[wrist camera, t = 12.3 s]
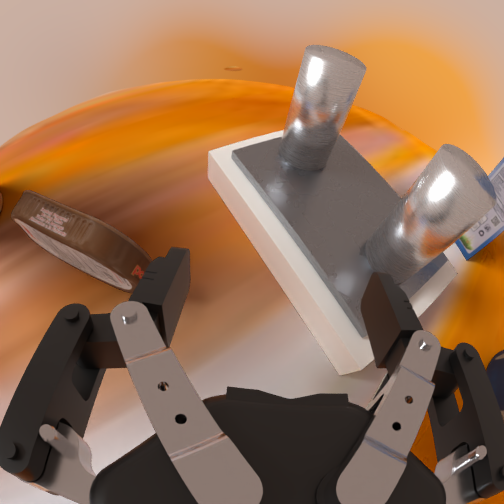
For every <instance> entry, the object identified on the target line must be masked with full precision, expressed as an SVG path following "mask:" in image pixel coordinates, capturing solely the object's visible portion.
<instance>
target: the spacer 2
mask: <svg viewBox="0 0 504 504" xmlns="http://www.w3.org/2000/svg"><path fill="white" fill-rule="evenodd" d="M495 205H496V193H495V190H494V187H493V185H492V183H491V181H490V179H489V178H488V176H487V174H486V173H485V172H484V170H483V169H482V168H481V167H480V165H479V164H478V163H477V162H476V161H475V160H474V159H473V158H472V157H471V156H470V155H468V154H467V153H466V152H464V151H463V150H461V149H460V148H458V147H456V146H453V145H450V144H444V145H442V146H441V148H440V149H439V150H438V152H437V153H436V154H435V156H434V157H433V159H432V160H431V161H430V163H429V164H428V165H427V167H426V168H425V169H424V171H423V172H422V173H421V175H420V176H419V177H418V178H417V180H416V181H415V182H414V184H413V185H412V186H411V187H410V189H409V190H408V191H407V193H406V194H405V195H404V196H403V198H402V199H401V200H400V201H399V203H398V204H397V205H396V206H395V207H394V209H393V210H392V211H391V212H390V214H389V215H388V216H387V217H386V218H385V220H384V221H383V222H382V223H381V224H380V226H379V227H378V228H377V229H376V230H375V231H374V233H373V234H372V235H371V236H370V237H369V239H368V240H367V243H366V257H367V260H368V263H369V265H370V266H371V268H372V270H373V271H374V272H381V273H389V274H391V276H392V278H393V280H394V282H395V284H398V283H402V282H404V281H406V280H407V279H409V278H410V277H411V276H413V275H414V274H415V273H417V272H418V271H419V270H420V269H422V268H423V267H424V266H426V265H427V264H428V263H429V262H431V261H432V260H433V259H435V258H436V257H437V256H438V255H440V254H441V253H442V252H443V251H444V250H446V249H447V248H448V247H449V246H451V245H452V244H453V243H454V242H455V241H456V240H458V239H459V238H460V237H461V236H462V235H463V234H465V233H466V232H467V231H468V230H469V229H470V228H471V227H473V226H474V225H475V224H476V223H477V222H478V221H479V220H480V219H481V218H482V217H484V216H485V215H486V214H487V213H488V212H489V211H490V210H491V209H492V208H493V207H494V206H495Z"/></svg>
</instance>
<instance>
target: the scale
mask: <svg viewBox="0 0 504 504" xmlns="http://www.w3.org/2000/svg"><path fill="white" fill-rule="evenodd" d="M283 132H284V130H282V131H278V132H274V133H270V134H266V135H262V136H259V137H255V138H251V139H248V140H244V141H241V142H237V143H234V144H230V145H227V146H224V147H221V148H217V149H214V150H211V151H208V179H209V181H210V182H211V184H212V185H213V186H214V188H215V189H216V191H217V192H218V194H219V195H220V197H221V198H222V200H223V201H224V203H225V204H226V206H227V207H228V209H229V210H230V212H231V213H232V215H233V216H234V218H235V219H236V221H237V222H238V224H239V225H240V227H241V228H242V230H243V231H244V233H245V234H246V236H247V237H248V239H249V240H250V242H251V243H252V245H253V246H254V248H255V249H256V251H257V252H258V254H259V255H260V256H261V258H262V259H263V261H264V262H265V264H266V265H267V267H268V268H269V270H270V271H271V273H272V274H273V276H274V277H275V279H276V280H277V282H278V283H279V285H280V286H281V288H282V289H283V291H284V292H285V294H286V295H287V297H288V298H289V300H290V301H291V303H292V304H293V306H294V307H295V309H296V310H297V312H298V313H299V315H300V316H301V318H302V319H303V321H304V322H305V324H306V325H307V327H308V329H309V330H310V332H311V333H312V335H313V336H314V338H315V339H316V341H317V342H318V344H319V345H320V347H321V348H322V350H323V351H324V353H325V354H326V356H327V357H328V359H329V360H330V362H331V363H332V365H333V366H334V368H335V369H336V371H337V372H338V374H339V375H344V374H348V373H352V372H356V371H360V370H362V369H363V368H364V367H366V366H367V365H368V364H369V363H370V362H371V361H373V360H374V356H373V352H372V348H371V344H370V341H369V337H368V335H367V336H365V337H363V338H362V337H361V336H360V334H359V333H358V331H357V330H356V328H355V327H354V326H353V324H352V323H351V321H350V320H349V318H348V317H347V315H346V314H345V312H344V311H343V309H342V308H341V306H340V305H339V303H338V302H337V301H336V299H335V298H334V296H333V295H332V293H331V292H330V290H329V289H328V288H327V286H326V285H325V283H324V282H323V280H322V279H321V278H320V276H319V275H318V273H317V272H316V271H315V269H314V268H313V266H312V265H311V264H310V262H309V261H308V259H307V258H306V257H305V255H304V254H303V252H302V251H301V250H300V248H299V247H298V246H297V244H296V243H295V241H294V240H293V239H292V237H291V236H290V235H289V233H288V232H287V231H286V229H285V228H284V226H283V225H282V224H281V222H280V221H279V220H278V218H277V217H276V216H275V214H274V213H273V212H272V210H271V209H270V208H269V206H268V205H267V204H266V202H265V201H264V200H263V198H262V197H261V196H260V194H259V193H258V192H257V191H256V189H255V188H254V187H253V185H252V184H251V183H250V181H249V180H248V179H247V178H246V176H245V175H244V174H243V172H242V171H241V170H240V169H239V167H238V166H237V165H236V163H235V162H234V161H233V160H232V158H231V156H232V150H236V149H239V148H242V147H246V146H249V145H253V144H256V143H260V142H263V141H267V140H271V139H274V138H278V137H282V136H283ZM354 149H355V148H354ZM355 150H356V149H355ZM356 151H357V150H356ZM357 152H358V151H357ZM358 153H359V152H358ZM359 154H360V153H359ZM360 155H361V154H360ZM361 156H362V155H361ZM380 176H381V175H380ZM381 177H382V176H381ZM390 187H391V186H390ZM397 195H398V194H397ZM444 255H445V254H444ZM457 274H458V273H457V272H456V270H455V269H454V267H453V266H452V264H451V263H450V262H449V260H448V261H447V262H446V263H445V264H444V265H443V266H442V267H441V268H440V269H439V270H438V271H437V272H436V273H435V274H434V275H433V276H432V277H431V278H430V279H429V280H428V281H427V282H426V283H425V284H424V285H423V286H422V287H421V288H420V289H419V290H418V291H417V292H416V293H415V294H414V295H413V296H412V297H411V298H410V299H409V301H410V302H409V303H411V305H412V307H413V309H414V311H415V313H416V315H417V318H418V317H419V316H420V315H421V314H422V313H423V312H424V311H425V310H426V309H427V308H428V307H429V306H430V305H431V304H432V303H433V301H434V300H435V299H436V298H437V297H438V296H439V295H440V294H441V293H442V291H443V290H444V289H445V288H446V287H447V286H448V284H449V283H450V282H451V281H452V280H453V279H454V277H455V276H456V275H457Z"/></svg>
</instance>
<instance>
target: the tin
mask: <svg viewBox="0 0 504 504" xmlns="http://www.w3.org/2000/svg"><path fill="white" fill-rule="evenodd" d="M11 218H12V220H13V221H14V222H16V223H17V224H18V225H19V226H20V227H21V228H22V229H23V230H24V231H25V232H26V233H27V235H28V236H29V237H30V238H31V239H32V240H33V241H34V242H35V243H37V244H38V245H39V246H41V247H42V248H43V249H45V250H46V251H48V252H49V253H51V254H52V255H54V256H56V257H57V258H59V259H61V260H63V261H64V262H66V263H68V264H70V265H71V266H73V267H75V268H77V269H79V270H80V271H82V272H84V273H86V274H88V275H90V276H92V277H94V278H96V279H98V280H100V281H102V282H104V283H106V284H109V285H111V286H113V287H115V288H118V289H120V290H123V291H126V292H129V293H133V291H134V290H135V288H136V286H137V284H138V283H139V281H140V279H142V276H143V274H144V272H145V271H146V269H147V267H148V266H149V264H150V263H151V262H152V259H151V258H150V257H149V255H148V254H147V253H146V252H145V251H144V250H143V249H142V248H141V247H140V246H139V245H138V244H136V243H135V242H134V241H133V240H132V239H130V238H129V237H128V236H126V235H125V234H123V233H122V232H120V231H118V230H117V229H115V228H114V227H112V226H110V225H109V224H107V223H105V222H103V221H101V220H99V219H97V218H95V217H92V216H90V215H88V214H85V213H83V212H80V211H78V210H76V209H73V208H71V207H68V206H66V205H63V204H61V203H59V202H57V201H54V200H52V199H50V198H47V197H45V196H43V195H40V194H38V193H36V192H33V191H30V190H26V191H24V192H23V195H22V197H21V198H20V200H19V201H18V203H17V204H16V206H15V208H14V209H13V211H12V213H11Z"/></svg>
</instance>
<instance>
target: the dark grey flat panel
mask: <svg viewBox="0 0 504 504" xmlns="http://www.w3.org/2000/svg"><path fill="white" fill-rule="evenodd" d="M281 139H282V137H278V138H274V139H271V140H267V141H263V142H260V143H256V144H253V145H249V146H246V147H242V148H239V149H236V150H232V156H231V158H232V160H233V161H234V162H235V163H236V165H237V166H238V167H239V169H240V170H241V171H242V172H243V174H244V175H245V176H246V178H247V179H248V180H249V181H250V183H251V184H252V185H253V187H254V188H255V189H256V191H257V192H258V193H259V194H260V196H261V197H262V198H263V200H264V201H265V202H266V204H267V205H268V206H269V208H270V209H271V210H272V212H273V213H274V214H275V216H276V217H277V218H278V220H279V221H280V222H281V224H282V225H283V226H284V228H285V229H286V231H287V232H288V233H289V235H290V236H291V237H292V239H293V240H294V241H295V243H296V244H297V246H298V247H299V248H300V250H301V251H302V252H303V254H304V255H305V257H306V258H307V259H308V261H309V262H310V264H311V265H312V266H313V268H314V269H315V271H316V272H317V273H318V275H319V276H320V278H321V279H322V280H323V282H324V283H325V285H326V286H327V288H328V289H329V290H330V292H331V293H332V295H333V296H334V298H335V299H336V301H337V302H338V303H339V305H340V306H341V308H342V309H343V311H344V312H345V314H346V315H347V317H348V318H349V320H350V321H351V323H352V324H353V326H354V327H355V328H356V330H357V331H358V333H359V334H360V336H361V337H362V338H363V337H365V336H367V335H368V334H367V330H366V327H365V324H364V320H363V317H362V314H361V308H360V307H361V300H362V297H363V294H364V292H365V290H366V287H367V285H368V282H369V280H370V277H371V275H372V273H373V272H374V271H373V270H372V268H371V266H370V265H369V263H368V260H367V257H366V243H367V240H368V239H369V237H370V236H371V235H372V234H373V233H374V231H375V230H376V229H377V228H378V227H379V226H380V224H381V223H382V222H383V221H384V220H385V218H386V217H387V216H388V215H389V214H390V212H391V211H392V210H393V209H394V207H395V206H396V205H397V204H398V203H399V201H400V200H401V198H400V197H399V196H398V195H397V193H396V192H395V191H394V190H393V189H392V188H391V187H390V185H389V184H388V183H387V182H386V181H385V180H384V179H383V178H382V177H381V176H380V174H379V173H378V172H377V171H376V170H375V169H374V168H373V167H372V166H371V165H370V164H369V163H368V162H367V161H366V160H365V159H364V158H363V157H362V156H361V155H360V154H359V153H358V152H357V151H356V150H355V149H354V148H353V147H352V146H351V145H350V144H349V143H348V142H347V141H346V140H345V139H344V138H343V137H342V136H341V135H340V134H339V136H338V139H337V141H336V143H335V145H334V148H333V150H332V152H331V155H330V157H329V159H328V161H327V164H326V165H325V166H324V167H323V168H322V169H319V170H314V171H308V170H303V169H299V168H297V167H294V166H292V165H291V164H289V163H288V162H287V161H286V160H285V159H284V158H283V157H282V156H281V154H280V150H279V147H280V143H281ZM447 261H448V259H447V257H446V256H445V255H444V253H443V252H442V253H441V254H440V255H438V256H437V257H436V258H435V259H433V260H432V261H431V262H429V263H428V264H427V265H426V266H424V267H423V268H422V269H420V270H419V271H418V272H417V273H415V274H414V275H413V276H411V277H410V278H409V279H407V280H406V281H404V282H402V283H398V284H396V285H398V286H399V287H400V288H401V289H402V290H403V291H404V292H405V293H406V295H407V297H408V299H410V298H411V297H412V296H413V295H414V294H415V293H416V292H417V291H418V290H419V289H420V288H421V287H422V286H423V285H424V284H425V283H426V282H427V281H428V280H429V279H430V278H431V277H432V276H433V275H434V274H435V273H436V272H437V271H438V270H439V269H440V268H441V267H442V266H443V265H444V264H445V263H446V262H447Z"/></svg>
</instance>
